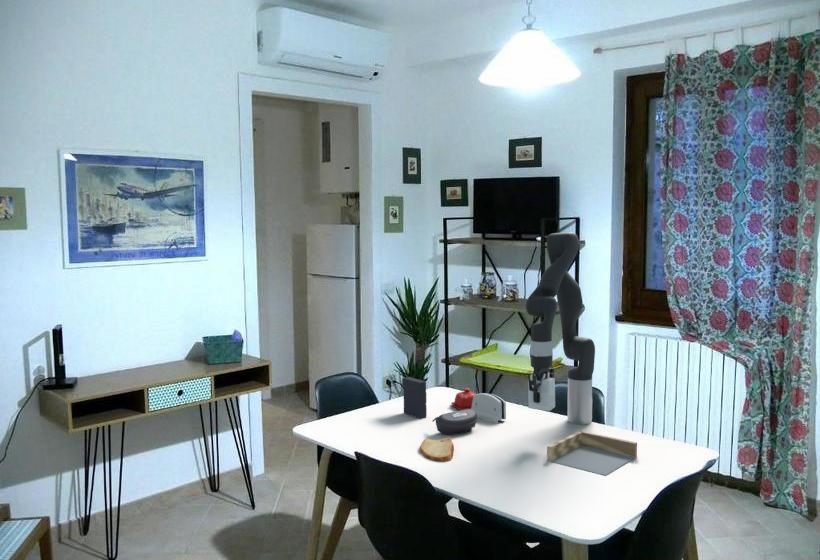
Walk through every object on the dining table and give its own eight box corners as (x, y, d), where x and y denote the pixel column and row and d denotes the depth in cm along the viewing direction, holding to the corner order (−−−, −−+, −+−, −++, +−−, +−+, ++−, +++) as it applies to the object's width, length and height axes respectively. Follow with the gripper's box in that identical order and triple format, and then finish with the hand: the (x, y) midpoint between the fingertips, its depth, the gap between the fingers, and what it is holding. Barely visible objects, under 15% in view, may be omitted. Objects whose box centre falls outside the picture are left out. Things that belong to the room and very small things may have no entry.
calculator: (427, 417, 275) (427, 381, 274) (419, 419, 273) (419, 382, 272) (410, 412, 284) (410, 376, 283) (402, 414, 281) (402, 377, 280)
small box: (555, 407, 241) (555, 378, 240) (549, 411, 237) (549, 381, 236) (533, 404, 246) (533, 375, 245) (527, 408, 241) (527, 378, 240)
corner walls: (580, 444, 241) (580, 430, 240) (636, 457, 227) (637, 442, 227) (546, 461, 224) (547, 446, 224) (605, 476, 210) (606, 460, 210)
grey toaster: (468, 414, 280) (470, 390, 279) (476, 414, 282) (478, 389, 282) (497, 424, 266) (499, 398, 266) (506, 423, 269) (508, 397, 269)
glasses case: (445, 440, 247) (445, 418, 247) (428, 432, 256) (428, 412, 255) (483, 431, 257) (483, 410, 257) (465, 424, 266) (465, 404, 266)
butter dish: (484, 410, 287) (485, 390, 286) (458, 412, 284) (458, 392, 283) (474, 403, 298) (474, 384, 297) (449, 405, 295) (449, 386, 294)
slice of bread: (443, 466, 222) (443, 454, 221) (402, 454, 234) (402, 443, 234) (477, 452, 235) (477, 441, 235) (436, 441, 247) (436, 431, 247)
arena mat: (582, 446, 239) (582, 445, 239) (634, 458, 226) (634, 457, 226) (551, 462, 223) (551, 461, 223) (605, 476, 210) (605, 475, 210)
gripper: (542, 348, 247) (542, 394, 249) (521, 355, 237) (521, 403, 238) (561, 351, 242) (561, 398, 244) (540, 357, 232) (540, 406, 233)
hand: (541, 400), depth 241 cm, fingers closed on small box, 6 cm apart
